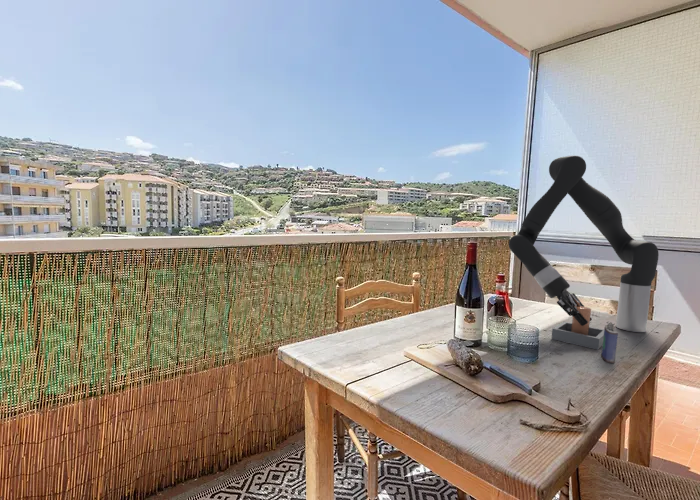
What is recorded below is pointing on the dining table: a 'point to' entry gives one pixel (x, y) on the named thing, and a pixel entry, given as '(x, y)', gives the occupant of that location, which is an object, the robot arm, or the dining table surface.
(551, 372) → the dining table surface
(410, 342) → the dining table surface
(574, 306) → the robot arm
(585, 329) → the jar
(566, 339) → the tray
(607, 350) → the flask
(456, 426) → the dining table surface
